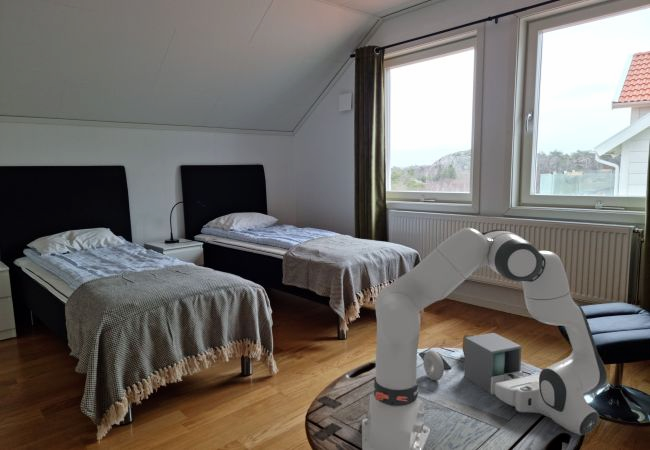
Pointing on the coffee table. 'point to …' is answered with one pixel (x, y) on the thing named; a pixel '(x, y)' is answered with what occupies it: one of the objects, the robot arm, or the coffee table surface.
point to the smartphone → (446, 365)
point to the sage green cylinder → (498, 363)
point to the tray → (501, 379)
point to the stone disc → (464, 340)
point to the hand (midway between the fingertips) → (507, 376)
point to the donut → (433, 365)
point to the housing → (489, 357)
